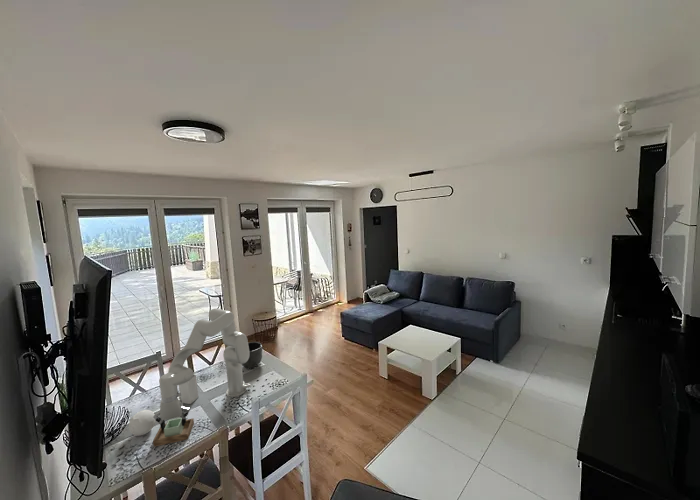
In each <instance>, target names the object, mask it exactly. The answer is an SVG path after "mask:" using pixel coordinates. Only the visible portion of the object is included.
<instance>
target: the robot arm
mask: <svg viewBox="0 0 700 500" xmlns="http://www.w3.org/2000/svg"><path fill="white" fill-rule="evenodd" d="M208 319H209V320H207V319H200V320H197V321H196V322H195V324H194V326H193V329H192V330H191V333H190V335H189V337H188V339H187V341H186V344H185V345H184V347H182V348H181V350H179V351H178V352H177V353H176V354H175V356H174V357H173V359H172V360H171V363H170V366H169V368H168V371H167V372H166V373H164V374H163V375H161V376H160V377H159V380H158V381H159V389H160V390H159V391H160V399H161V400H160V402H159V403H160V404H159V411H158V412H157V413H154V414H155V415H154V416H153V418H154V419H155V420H156V422H158V424H159V425H160V426H159V428H160V427H161V428H162V430H164V428H165V424H166V420H172V419H177V418H182V426H184V424H185V423H186V420H187V416H189V413H190V411H191V407H186V406H184V403H183V402H182V399H181V397H180V396H181V393H180V392H179V385H180V384H183V383H186V382H188V381H190V380H191V379H192V377H193V375H195V374H194V371H193V370H192V368H190V367H186V366H184V364H185V362H186V361H187V359H188V358H189V356H191V355H193V354H195V353H197V352H200V351H201V350H202V349H203V346H204V343H205V341H206V339H207V337H208V338H209V337H212V338H213V337H214V336H217V335H218V334H219V333H221V335H222V342H223V344H224V345H225V346H226V347H225V348H224V350H223V353H222V356H223V361H224V362H225V369H226V370H225V371H226V379H227V390H226V391H225V394H226V397H228V398H237V397H239V396H241V395H244V393H246V391H247V389H249V388H251V387H252V385H251V383H250V382H247V383H245V381H244V375H243V366H242V364H244V363H246V362H247V361H248V359H249V354H250V353H249V346H248V343H249V342H248V341H249V340H248V336H247V335H246V334H245V333H243V332H240V331H238V330H237V329H236V328H237V327H236V323H235V320H234V319H235V315H234V313H233V312H232V311H229V310H225V309H221V308H217V307H216V308H211V310H210V311H208ZM159 416H160V417H159Z"/></svg>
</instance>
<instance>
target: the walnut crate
mask: <svg viewBox="0 0 700 500" xmlns="http://www.w3.org/2000/svg"><path fill="white" fill-rule="evenodd" d="M166 424H167V423H165V426H166ZM194 424H195V419H194V418H188V419H187V418H186V423H185V424H184V429H183V431H182V434H178V435H174V436H169V437H165V434H164V430H162V428H161V427H160V426H159V429H158V430H157V432H156V435H154V436H155V437H154V438H153V440H152V445H153V446H152V447H153V448H155V447H159V446H165V445H169V444H172V443H179V442H182V441H183V442H184V441H186V440H188V441H189V438H190V436H191V433H192V431H193V427H194Z"/></svg>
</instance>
